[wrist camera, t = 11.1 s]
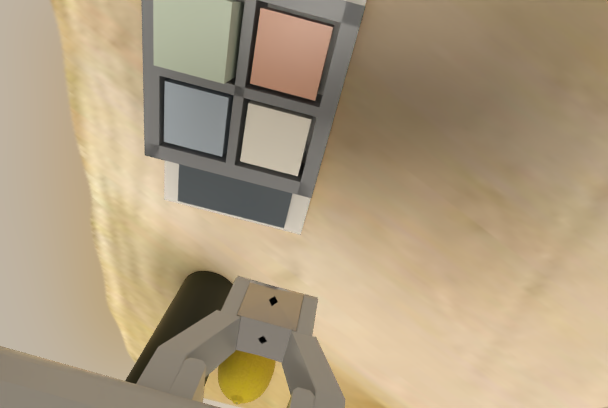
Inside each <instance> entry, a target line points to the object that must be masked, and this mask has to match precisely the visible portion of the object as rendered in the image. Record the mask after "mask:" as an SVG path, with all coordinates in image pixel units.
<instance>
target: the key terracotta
mask: <svg viewBox="0 0 608 408" xmlns="http://www.w3.org/2000/svg"><path fill="white" fill-rule="evenodd" d="M333 29H334V25H333V24H329V23H325V22H321V21H318V20H314V19H310V18H307V17H303V16H299V15H295V14H292V13H288V12H284V11H281V10H277V9H273V8H270V7H265V8H260V15H259V22H258V30H257V37H256V44H255V51H254V58H253V65H252V72H251V79H250V84H254V85H257V86H261V87H265V88H269V89H273V90H276V91H280V92H284V93H288V94H291V95H295V96H299V97H303V98H307V99H310V100H314V101H315V100H316V97H317V94H318V90H319V86H320V82H321V78H322V74H323V70H324V66H325V62H326V58H327V54H328V50H329V46H330V42H331V38H332V33H333Z"/></svg>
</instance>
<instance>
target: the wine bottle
mask: <svg viewBox="0 0 608 408" xmlns="http://www.w3.org/2000/svg"><path fill="white" fill-rule="evenodd" d="M232 286H233V285H232V284H231V283H230V282H229V281H228V280H227V279H225V278H224V277H222V276H220V275H218V274H215V273H212V272H196V273H193V274H191V275H189V276H188V277H187V278H186V279H185V281H184V282H183V284H182V286H181V288H180V289H179V291H178V293H177V294H176V296H175V298H174V299H173V301H172V303H171V304H170V306H169V308H168V309H167V311H166V313H165V315H164V316H163V318H162V320H161V321H160V323H159V325H158V326H157V328H156V330H155V331H154V333H153V335H152V337H151V338H150V340H149V342H148V343H147V345H146V347H145V348H144V350H143V352H142V353H141V355H140V357H139V358H138V360H137V362H136V364H135V365H134V367H133V369H132V370H131V372H130V374H129V376H128V377H127V379H126V381H127V382H130V383H134V384H136V383H137V381H138V380H139V378H140V376H141V375H142V373H143V371H144V370H145V368H146V366H147V365H148V363H149V361H150V360H151V358H152V356H153V355H154V353H155V351H156V350H157V348H158V347H159V346H160V345H162V344H163V343H165V342H167V341H168V340H170V339H171V338H173V337H175V336H176V335H178V334H179V333H181V332H183V331H184V330H186V329H187V328H189V327H191V326H192V325H194V324H195V323H197V322H199V321H200V320H202V319H203V318H205V317H207V316H208V315H210V314H211V313H213V312H214V311H216V310H219V311H221V310H222V307H223V305H224V303H225V301H226V299H227V297H228V294H229V292H230V290H231V288H232ZM208 376H209V375H207V376H206V377H205V384H206V381H207V378H208ZM205 384H204V386H205Z"/></svg>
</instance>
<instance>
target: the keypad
mask: <svg viewBox="0 0 608 408" xmlns="http://www.w3.org/2000/svg"><path fill="white" fill-rule="evenodd" d="M237 1H241V2H244V7H243V16H242V24H241V33H240V41H239V50H238V58H237V67H236V75H235V77H234V78H232V79H231V80H229V81H228V82H226V83H225V84H222V83H219V82H215V81H211V80H207V79H203V78H200V77H196V76H192V75H188V74H185V73H181V72H177V71H173V70H169V69H166V68H162V67H158V66H154V50H153V0H142V43H143V92H144V140H145V155H146V156H150V157H154V158H157V159H161V160H165V177H164V200H167V201H171V202H175V203H179V204H183V205H187V206H190V207H194V208H198V209H202V210H206V211H210V212H214V213H218V214H222V215H226V216H229V217H233V218H237V219H241V220H245V221H249V222H253V223H257V224H261V225H265V226H268V227H272V228H276V229H280V230H284V231H288V232H292V233H296V234H300V235H301V231H302V228H303V224H304V221H305V217H306V214H307V210H308V207H309V203H310V199H311V198H312V194H313V190H314V187H315V183H316V180H317V176H318V173H319V169H320V166H321V162H322V159H323V155H324V151H325V148H326V144H327V141H328V137H329V134H330V130H331V127H332V123H333V120H334V116H335V112H336V109H337V105H338V102H339V98H340V95H341V91H342V88H343V84H344V80H345V77H346V73H347V70H348V66H349V63H350V59H351V56H352V52H353V49H354V45H355V41H356V38H357V34H358V31H359V27H360V24H361V20H362V17H363V13H364V10H365V4H366V0H237ZM265 7H270V8H273V9H277V10H281V11H284V12H288V13H292V14H295V15H299V16H303V17H307V18H310V19H314V20H318V21H321V22H325V23H329V24H333V25H334V29H333V33H332V38H331V42H330V46H329V50H328V54H327V58H326V62H325V66H324V70H323V74H322V78H321V82H320V86H319V90H318V94H317V97H316V100H315V101H314V100H310V99H307V98H303V97H299V96H295V95H291V94H288V93H284V92H280V91H276V90H273V89H269V88H265V87H261V86H257V85H254V84H250V79H251V72H252V65H253V58H254V51H255V44H256V37H257V30H258V22H259V15H260V8H265ZM168 79H174V80H178V81H182V82H186V83H189V84H193V85H197V86H201V87H205V88H208V89H212V90H216V91H220V92H224V93H227V94H231V95H234V97H233V106H232V114H231V123H230V131H229V140H228V148H227V152H226V153H225V154H224V155H223V156H222V157H221V156H217V155H213V154H210V153H206V152H202V151H198V150H194V149H190V148H186V147H183V146H179V145H175V144H171V143H167V142H164V94H165V81H166V80H168ZM251 100H254V101H258V102H261V103H265V104H269V105H273V106H277V107H280V108H284V109H288V110H292V111H296V112H299V113H303V114H307V115H311V116H313V119H312V123H311V127H310V131H309V135H308V139H307V143H306V147H305V151H304V155H303V159H302V163H301V167H300V170H299V173H298V176H295V175H291V174H287V173H283V172H279V171H275V170H272V169H268V168H264V167H260V166H256V165H252V164H249V163H245V162H241V161H240V158H241V151H242V144H243V137H244V130H245V123H246V116H247V109H248V103H249V102H250V101H251Z"/></svg>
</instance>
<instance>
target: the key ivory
mask: <svg viewBox="0 0 608 408" xmlns="http://www.w3.org/2000/svg"><path fill="white" fill-rule="evenodd" d="M312 119H313V116H311V115H307V114H303V113H299V112H296V111H292V110H288V109H284V108H280V107H277V106H273V105H269V104H265V103H261V102H258V101H254V100H251V101H250V102H249V103H248V109H247V116H246V123H245V130H244V137H243V144H242V151H241V158H240V161H241V162H245V163H249V164H252V165H256V166H260V167H264V168H268V169H272V170H275V171H279V172H283V173H287V174H291V175H295V176H298V173H299V170H300V167H301V163H302V159H303V155H304V151H305V147H306V143H307V139H308V135H309V131H310V127H311V123H312Z"/></svg>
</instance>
